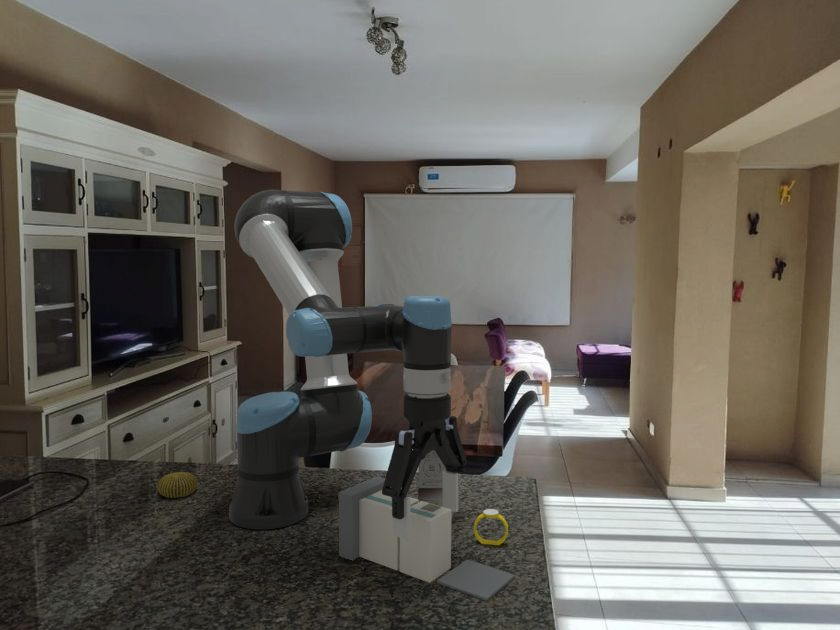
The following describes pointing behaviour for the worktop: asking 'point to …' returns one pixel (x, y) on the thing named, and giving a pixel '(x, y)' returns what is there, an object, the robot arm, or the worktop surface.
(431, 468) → the coffee box
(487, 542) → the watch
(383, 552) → the pad
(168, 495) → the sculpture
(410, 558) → the stub
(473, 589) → the mat
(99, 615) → the worktop surface
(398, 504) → the robot arm
